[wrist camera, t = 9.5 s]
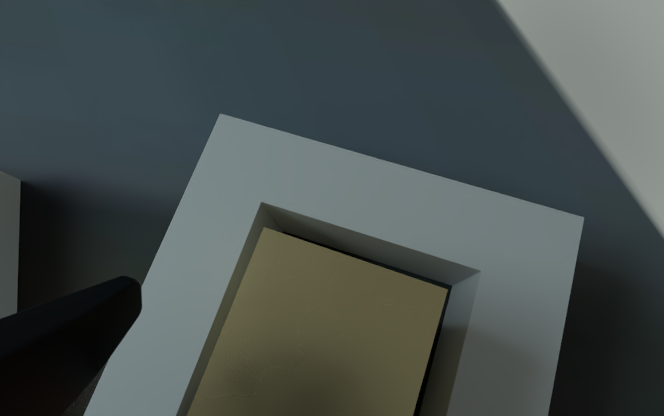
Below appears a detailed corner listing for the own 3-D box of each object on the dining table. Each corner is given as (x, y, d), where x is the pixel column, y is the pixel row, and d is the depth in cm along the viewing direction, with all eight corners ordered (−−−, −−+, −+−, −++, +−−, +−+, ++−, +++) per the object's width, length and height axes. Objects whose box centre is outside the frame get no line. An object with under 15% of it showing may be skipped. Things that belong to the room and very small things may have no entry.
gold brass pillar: (372, 419, 15) (387, 507, 7) (269, 378, 16) (184, 420, 8) (404, 310, 16) (447, 289, 8) (307, 276, 17) (264, 226, 9)
